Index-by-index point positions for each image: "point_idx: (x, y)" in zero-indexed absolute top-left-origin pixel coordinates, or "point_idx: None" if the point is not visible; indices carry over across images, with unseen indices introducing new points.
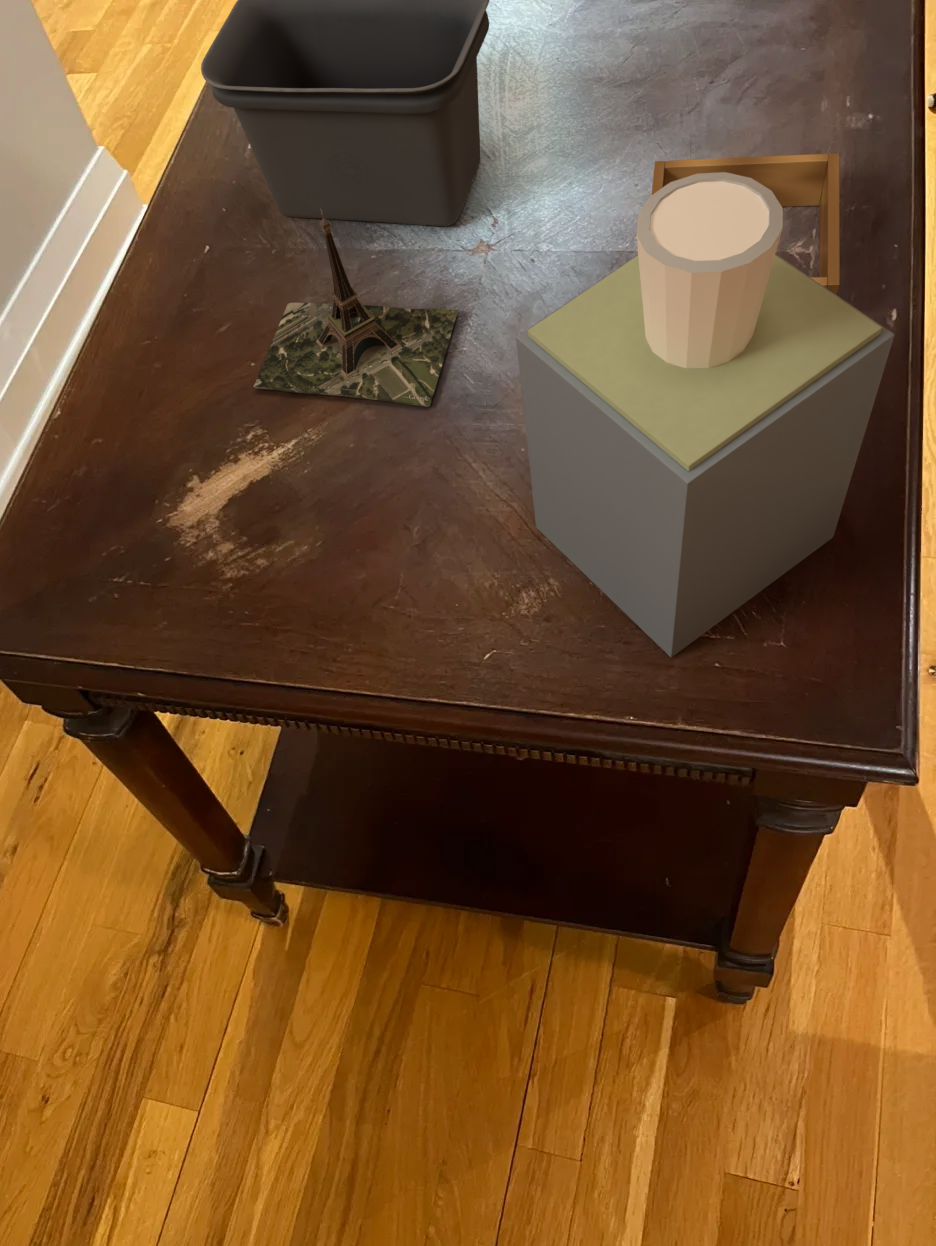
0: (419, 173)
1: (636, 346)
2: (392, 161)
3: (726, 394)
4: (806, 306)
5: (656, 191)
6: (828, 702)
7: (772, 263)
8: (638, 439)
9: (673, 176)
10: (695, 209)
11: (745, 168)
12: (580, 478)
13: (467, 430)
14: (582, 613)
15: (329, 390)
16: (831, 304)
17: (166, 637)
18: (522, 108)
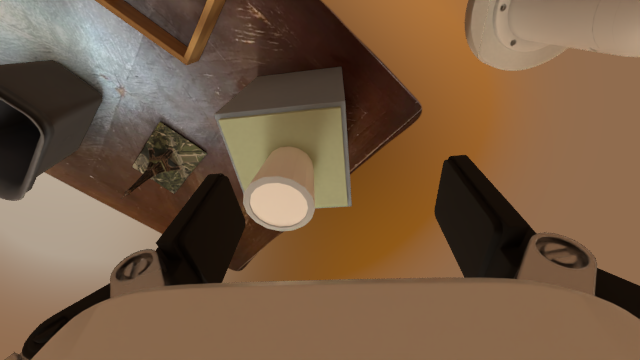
0: (77, 116)
1: None
2: (68, 126)
3: (328, 179)
4: (306, 126)
5: (116, 13)
6: (393, 114)
7: (306, 176)
8: (323, 207)
9: None
10: (267, 205)
11: None
12: None
13: (223, 147)
14: None
15: (185, 176)
16: (312, 116)
17: (258, 240)
18: (4, 10)
